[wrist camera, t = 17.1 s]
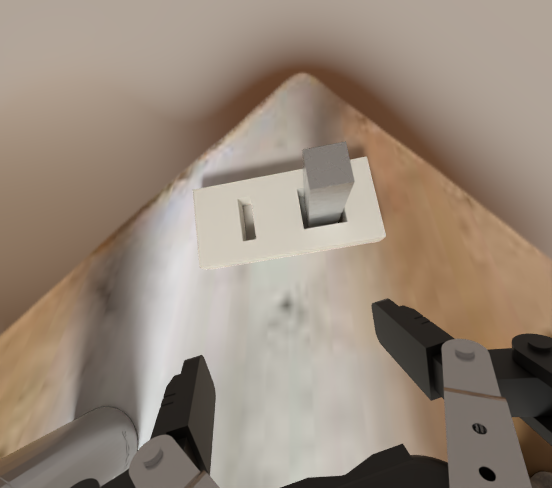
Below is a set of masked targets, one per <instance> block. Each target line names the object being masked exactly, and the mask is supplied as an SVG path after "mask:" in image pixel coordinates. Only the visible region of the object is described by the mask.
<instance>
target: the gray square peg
mask: <svg viewBox="0 0 552 488" xmlns="http://www.w3.org/2000/svg"><path fill="white" fill-rule="evenodd" d="M302 151H303V185H304V205H305V210H306V216H307V222H308V227H309V228H314V227H320V226H325V225H331V224H337V223H338V221H339V219H340V216H341V214H342V211H343V209H344V206H345V204H346V202H347V199H348V197H349V194H350V192H351V189H352V187H353V185H354V182H355V181H354V176H353V172H352V167H351V163H350V158H349V154H348V149H347V145H346V141H345V142H340V143H335V144H330V145H325V146H319V147H314V148H309V149H304V150H302Z"/></svg>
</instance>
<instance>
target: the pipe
mask: <svg viewBox="0 0 552 488" xmlns="http://www.w3.org/2000/svg"><path fill="white" fill-rule="evenodd" d="M530 483H531V486H532V488H552V473H550V472H538V473H536V474H534V476H533V477H531V478H530Z"/></svg>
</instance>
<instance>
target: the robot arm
mask: <svg viewBox="0 0 552 488" xmlns="http://www.w3.org/2000/svg"><path fill="white" fill-rule="evenodd" d="M372 313H373V319H374V325H375V331H376V335H377V338H378V340H379V342H380V343H381V345H382V346H383V347H384V348H385V349H386V351H387V352H388V353H389V354H390V355H391V356H392V357H393V358H394V360H395V361H396V362H397V363H398V364H399V365H400V366H401V367H402V369H403V370H404V371H405V372H406V373H407V374H408V375H409V376H410V378H411V379H412V380H413V381H414V382H415V383H416V384H417V385H418V387H419V388H420V389H421V390H422V391H423V392H424V393H425V394H426V396H427V397H428V398H429V399H430V400H431V401H432V400H434V399H437V398H440V397H442V398H443V399H444V403H445V420H446V437H447V453H448V463H447V462H445V461H442V460H439V459H436V458H433V457H428V456H421V455H410V454H409V453H408V451H407V450H406V448H405V446H404V445H403V444H400V445H398V446H395V447H392V448H389V449H387V450H384V451H381V452H378V453H376V454H373V455H371V456H370V457H369V458H367V459H366V460H365V461H363V462H362V463H361V464H359V465H358V466H357V467H355V468H354V469H353V470H351V471H350V472H349V473H347V474H346V475H343V476H330V477H313V478H306V479H303V480H301V481H298V482H295V483H292V484H290V485H287V486H284V487H281V488H532V486H531V483H530V479H529V476H528V472H527V469H526V466H525V462H524V459H523V455H522V452H521V448H520V445H519V441H518V438H517V434H516V431H515V427H514V424H513V421H512V417H520V418H521V419H522V420H524V421H525V422H526V423H527V424H528V425H529V426H530V427H531V428H532V429H534V430H535V431H536V432H537V433H538V434H539V435H540V436H541V437H542V438H543V439H545V440H546V441H547V442H548V443H549V444H550V445H551V446H552V338H550V337H547V336H543V335H538V334H521V335H517V336H515V337H514V338H513V339H512V348H508V349H492V350H487V349H486V348H485V347H483V346H482V345H480V344H479V343H476V342H474V341H471V340H466V339H454V338H453V337H452V336H450V335H449V334H448V333H446V332H445V331H443V330H442V329H441V328H439V327H438V326H436V325H435V324H434V323H432V322H430V320H428V319H427V318H425V317H423V315H421V314H420V313H419V312H417V311H416V310H414V309H412V308H409V307H406V306H398V305H396V304H395V303H394V302H393V301H391V300H390V299H384V300H381V301H378V302H375V303H372ZM215 399H216V395H215V387H214V383H213V381H212V378H211V375H210V372H209V370H208V367H207V364H206V362H205V359H204V357H203V356H202V355H200V356H197V357H193V358H190V359H187V360H185V361H184V363H183V367H182V371H181V374H179V375H175V376H174V377H173V378H172V380H171V381H170V383H169V384H168V385H167V387H166V390H165V394H164V399H163V400H162V403H161V408H160V410H159V413H158V416H157V419H156V422H155V426H154V429H153V432H152V435H151V438H150V440H149V441H148V442H146V443H145V444H144V445H143V446H142V447H141V448H140V449H139V450H138V451H137V435H136V431H135V428H134V425H133V423H132V422H131V420H130V418H129V417H128V416H127V415H126V414H125V413H123V412H122V411H121V410H119V409H116V408H113V407H101V408H97V409H95V410H93V411H91V412H89V413H87V414H85V415H83V416H81V417H79V418H77V419H76V420H74V421H72V422H70V423H68V424H66V425H64V426H62V427H60V428H58V429H56V430H55V431H53V432H51V433H49V434H47V435H45V436H43V437H41V438H40V439H38V440H36V441H34V442H32V443H30V444H28V445H26V446H24V447H23V448H21V449H19V450H17V451H15V452H13V453H11V454H9V455H7V456H6V457H4V458H2V459H0V488H219V486H218V485H217V484H216V483H215V482H214V481H213V479H212V478H211V477H210V466H211V453H212V439H213V426H214V413H215Z"/></svg>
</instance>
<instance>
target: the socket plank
mask: <svg viewBox="0 0 552 488" xmlns="http://www.w3.org/2000/svg"><path fill="white" fill-rule="evenodd" d="M350 163H351V167H352V172H353V176H354V181H355V182H354V185H353V187H352V189H351V192H350V194H349V197H348V199H347V202H346V204H345V206H344V209H343V211H342V219H343V223H337V224H331V225H325V226H320V227H314V228H308V229H304V227H303V221H302V216H301V210H300V204H299V199H298V197H301V196H304V185H303V169H299V170H293V171H288V172H283V173H278V174H272V175H267V176H262V177H257V178H252V179H246V180H241V181H236V182H231V183H225V184H220V185H215V186H210V187H205V188H199V189H194V190H193V200H194V211H195V221H196V232H197V243H198V254H199V265H200V268H203V269H206V270H211V269H217V268H223V267H229V266H235V265H241V264H247V263H253V262H259V261H265V260H271V259H277V258H283V257H289V256H295V255H301V254H307V253H313V252H319V251H325V250H331V249H337V248H343V247H349V246H355V245H361V244H367V243H373V242H379V241H381V240H382V239H383V238H385V237H386V234H385V230H384V226H383V222H382V218H381V213H380V209H379V205H378V201H377V197H376V193H375V189H374V185H373V180H372V176H371V172H370V168H369V164H368V160H367V156H366V157H361V158H356V159H351V160H350ZM250 204H251V205H252V212H253V219H254V226H255V233H256V239H254V240H248V241H247V237H246V229H245V221H244V214H243V206H245V205H250Z"/></svg>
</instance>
